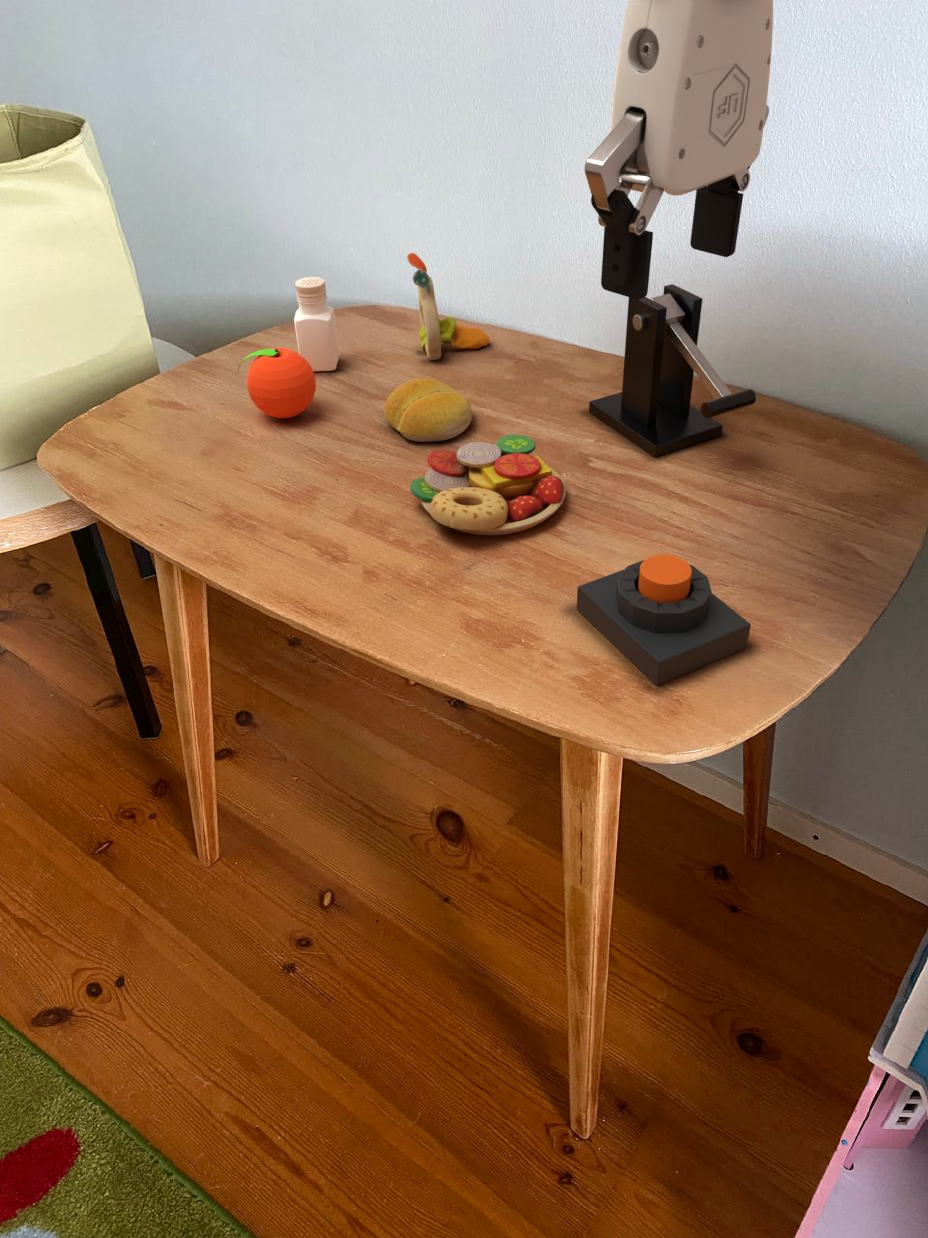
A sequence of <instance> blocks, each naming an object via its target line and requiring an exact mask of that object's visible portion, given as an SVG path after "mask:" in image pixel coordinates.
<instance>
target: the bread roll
mask: <svg viewBox="0 0 928 1238" xmlns="http://www.w3.org/2000/svg"><path fill="white" fill-rule="evenodd" d="M385 400H386V401H385V402H384V405H383V414H384V417H385V419H386V421H387V422H388V424H389V425H390V426H391V427H392V428H393V429H395V430H396V431H398V432H399V433H400V434H401V435H402V436H403V437H404V438H406V439H407V440H410V441H412V442H419V443H422V442H423V443H427V442H431V443H432V442H440V441H441V442H442V441H446V440H450V439H453V438H455V437H457V436H460V434H462V433H463V432H464V431H466V430H467V428H468V427H469V426H470V424H471V422H472V419H473V418H472V417H473V416H472V413H473V412H472V411H473V410H472V406H471V402H470V401H469V400H468V398H467V397H466V396H464V395H463V394H461V393H458V392H455V390H453V388H451V387H450V386H449V385H447V384H446V383H444V382H442V381H440V380H437V379H434V378H425V377H421V378H420V377H419V378H416V379H414V378H413V379H411V380H408V381H406V382H404V383H402V384H401V385H399V386H398V387H397V388H396V389H394V390H393V391H392V392H391V393H390V394H389V395H388V397H387V398H386V399H385Z"/></svg>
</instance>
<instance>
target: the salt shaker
mask: <svg viewBox="0 0 928 1238" xmlns="http://www.w3.org/2000/svg"><path fill="white" fill-rule="evenodd" d="M294 285H295V292H296V301H297V302H298V307H299V308H298V309H297V310H296V311H295V315H294V318H293V322H294V323H293V324H294V329H295V335H296V342H297V349H298V353H299V354H300V355H301V356H302V357H303V358H305V359H306V360H307V361H308V362H309V364H310V366H311V367H312V369H313V372H332V371H335V370H336V369H337V365H338V362H339V359H340V346H339V340H338V339H339V337H338V331H337V322H336V314H335V309H334V307H332V306H329V305H328V302H327V299H328V296H327V289H326V281H325V279H324V278H321V277H320V276H306V277H302V278H300V279H297V280H296V281H295V282H294Z"/></svg>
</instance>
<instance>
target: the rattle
mask: <svg viewBox="0 0 928 1238" xmlns="http://www.w3.org/2000/svg"><path fill="white" fill-rule="evenodd" d="M406 259H407V261H408V264H410V265H411V266H412V267H414V268H416V271H414V273H413V275H412V281H413V284H414V285H415V286H417V290H418V291H417V292H418V311H419V320H420V328H421V329H420V330H419V333H418V334H419V338H420V344H421V349H422V351H424V352H426V355H427V358H428V359H429V360H431V361H437V360H440V359H441V357H442V345H444V346H452V347H456V348H458V349H459V350H465V349H469V350H475V349H480V348H482V347H486V346H488V343H489V342H490V336H489V335H488V334H487V333H486V332H485V331H484V330H482V329H481V328H479V327H477V326H472V327H469V326H465V325H461V324H460V323H459V324H457V321H456V319H455V318H454V317H453V316H448V317H446V318H444V319H440V318H439V313H438V307H437V300H436V294H435V289H434V288H435V287H434V282H433V279H432V277H431V276H429V274H428V271H427V270H428V269H427V266H426V264H425V263H424V261H423V260H422V259H421V258H420V257H419V256H418V255H417V254H416V252H415V253H414V252H410V253H408V254H407V256H406Z"/></svg>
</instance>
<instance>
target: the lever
mask: <svg viewBox="0 0 928 1238" xmlns="http://www.w3.org/2000/svg"><path fill="white" fill-rule="evenodd" d="M650 299H651V300H653V301H655V302H656V303H658V304H660V305H662V306H664V307H666V308H667V312H666V322H665V333H664V336H669V338H670V339H671V340H672V342H673V343H674V344H675V346H676V347H677V348H678V350H679V351H680V353H681V354H682V355H683V357H684V358H685V359H686V361H687V362H688V363H689V365H690V366H691V368H692V369H693V370H694V374H695V375H696V376H697V378H698V379H699V380H700V381H701V383H702V384H703V386H704V387H705V388H706V389H707V391H708V392H709V394H710V395H711V396H712V398H713V399H710V400H707V401H704V402H703V403H702V404H701V406H700V411H701V412H702V415H703V416H704V417H705V418H712V419H713V418H714V417H718V416H721V415H724V414H727V413H730V412H734V411H737V410H740V409H743V408H747V407H750V406H752V405H754V404H755V403H756V400H757V396H756V393H755V391H754V390H753V389H752V388H747V389H743V390H740V391H737V392H734V393H732V391H731V390H730V389H729V387H728V386H727V385H726V383H725V382H724V381H723V379H722V378H721V377H720V375H719V374H718V373H717V371H716V370H715V369H714V368H713V366H712V365H711V364H710V362H709V361H708V359H707V357H705V355H704V354H703V353H702V351H701V350H700V349H699V347H698V345H697V346H696V345H695V343H694V342H693V341H692V339H691V338H690V337H689V335H688V334H687V333H686V331H685V330H684V329H683V327H682V326H681V323H682V320H683V318H684V316H685V313H684V312H683V310H682V309H681V308H680V306H679V305H678V304H677V302H676V301H675V300H674V298H673V297H672V296H671V294H670V293H669V294H665V295H663V294H661V295H657V296H654V297H651V298H650Z"/></svg>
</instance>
